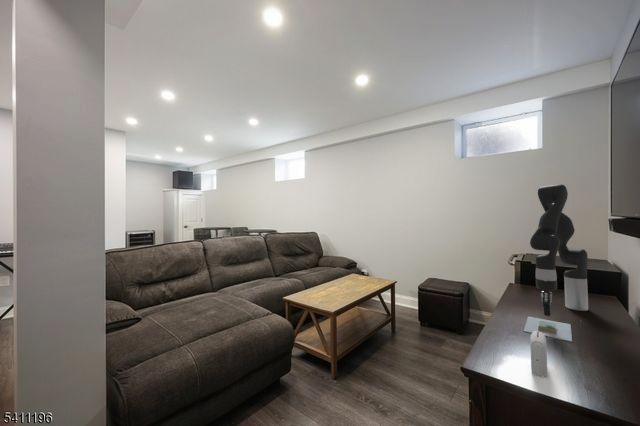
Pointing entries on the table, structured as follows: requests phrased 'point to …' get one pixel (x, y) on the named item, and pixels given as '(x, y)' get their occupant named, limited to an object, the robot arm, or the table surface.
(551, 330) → the tile
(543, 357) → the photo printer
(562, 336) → the mat
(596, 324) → the table surface
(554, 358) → the table surface
